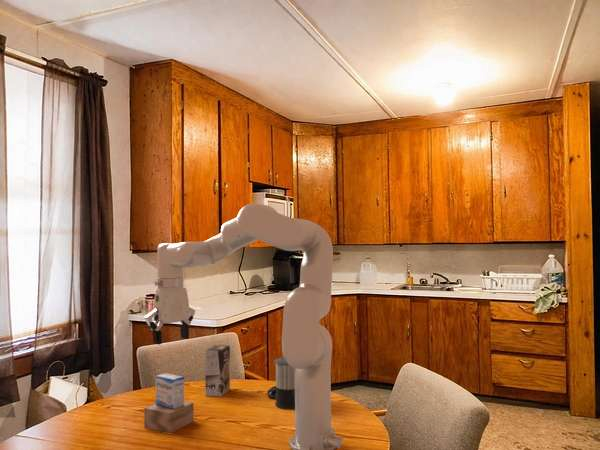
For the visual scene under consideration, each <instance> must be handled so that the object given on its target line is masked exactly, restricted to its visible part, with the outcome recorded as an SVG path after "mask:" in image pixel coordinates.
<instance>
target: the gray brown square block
mask: <svg viewBox="0 0 600 450" xmlns="http://www.w3.org/2000/svg"><path fill="white" fill-rule="evenodd" d="M143 416H144V418H143V419H144V429H148V430H149V429H150V430H154V431H158V432H163V433H168V434H172V433H174V432H176V431H178V430H179V429H182V428H183V427H185V426H188V425H189V424H190V423H193V422H195V420H194V402H193V401H192V402H191V401H188V400H187V401H186V400H184V405H183V406H181V407H178V408H176V409H170V408H166V407H162V406H158V405H156V404H155V403H154V404H151V405H149V406H147V407H144V415H143Z"/></svg>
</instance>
